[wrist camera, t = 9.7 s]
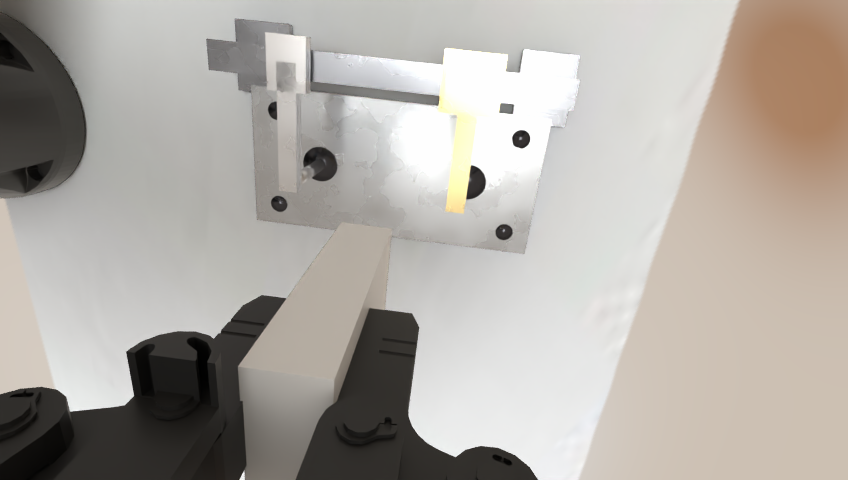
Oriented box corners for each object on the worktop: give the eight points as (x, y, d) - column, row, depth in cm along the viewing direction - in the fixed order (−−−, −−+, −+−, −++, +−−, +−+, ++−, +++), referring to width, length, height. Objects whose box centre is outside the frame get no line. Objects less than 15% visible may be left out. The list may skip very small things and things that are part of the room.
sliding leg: (433, 184, 35) (421, 229, 25) (448, 51, 31) (441, 44, 21) (478, 190, 34) (484, 237, 25) (499, 57, 31) (515, 52, 21)
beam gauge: (247, 157, 37) (191, 180, 29) (240, 19, 33) (173, 5, 25) (547, 194, 35) (569, 227, 28) (577, 55, 32) (612, 51, 24)
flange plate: (262, 216, 38) (256, 220, 37) (256, 84, 34) (250, 85, 33) (522, 249, 37) (524, 254, 36) (549, 117, 33) (552, 119, 32)
